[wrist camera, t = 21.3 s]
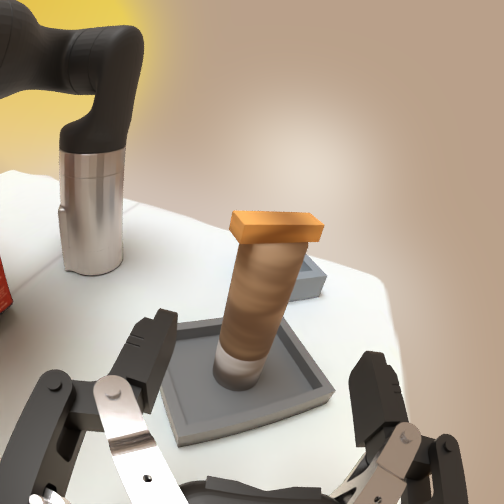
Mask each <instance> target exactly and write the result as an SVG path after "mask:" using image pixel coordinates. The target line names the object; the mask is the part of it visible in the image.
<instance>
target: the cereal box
mask: <svg viewBox="0 0 504 504" xmlns="http://www.w3.org/2000/svg"><path fill="white" fill-rule="evenodd" d="M12 304H13V299H12V296H11V294H10V290H9V287H8V284H7V280H6V277H5V273H4V269H3V265H2V261H1V257H0V314H2V313H3V312H4V311H5V310H6V309H8V308H9V307H10V306H11V305H12Z"/></svg>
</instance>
